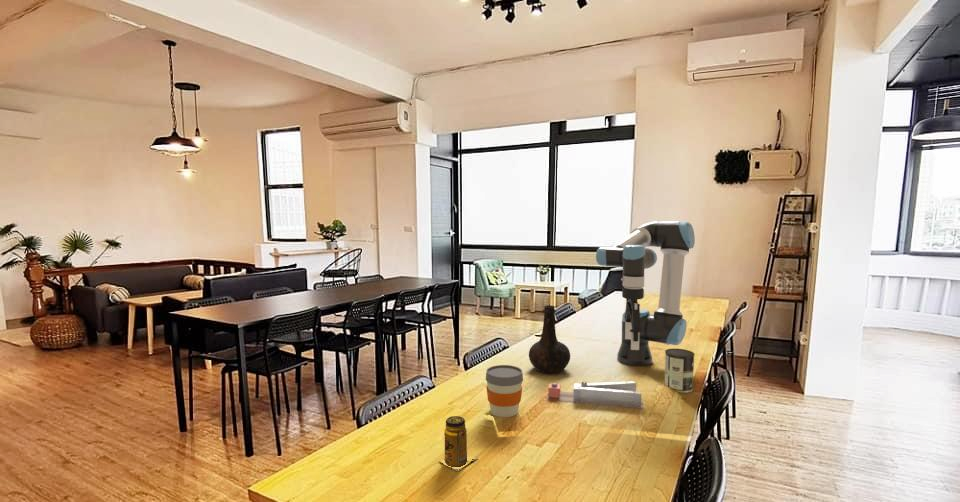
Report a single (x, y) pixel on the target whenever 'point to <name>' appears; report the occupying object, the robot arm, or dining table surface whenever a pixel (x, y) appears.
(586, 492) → the dining table surface
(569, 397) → the board
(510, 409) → the reusable coffee cup
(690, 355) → the coffee can
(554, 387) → the tab
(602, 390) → the grey long bar
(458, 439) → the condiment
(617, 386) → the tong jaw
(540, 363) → the dark brown vase
